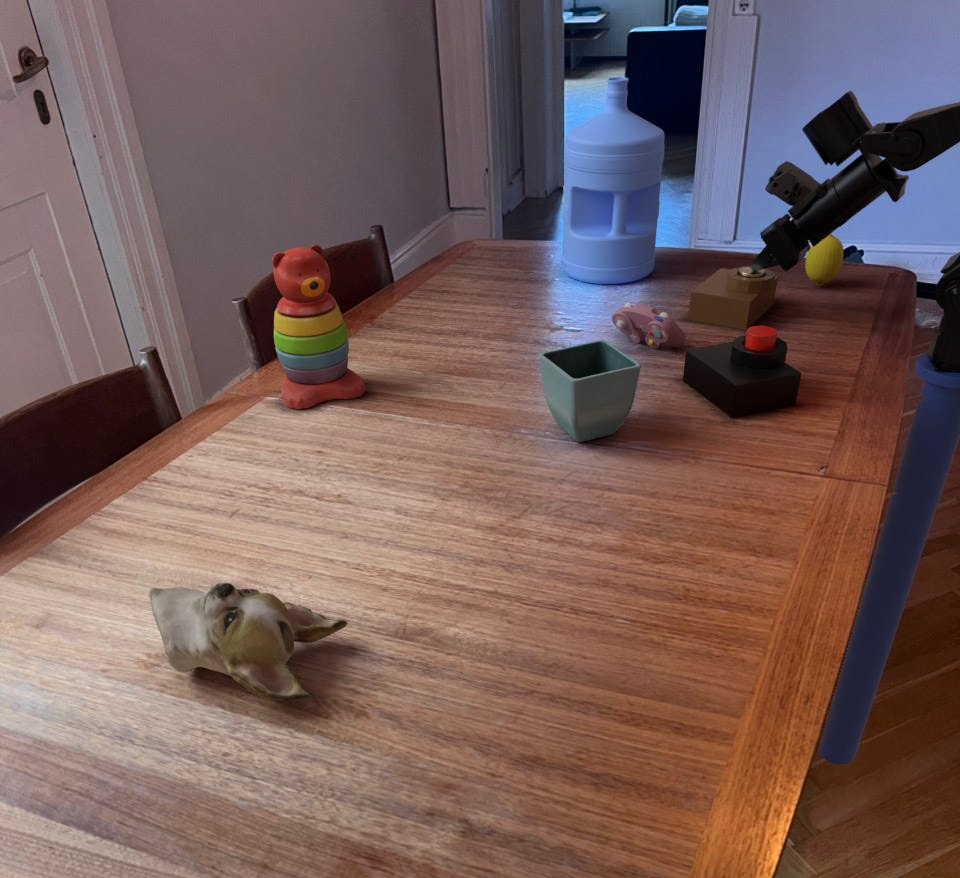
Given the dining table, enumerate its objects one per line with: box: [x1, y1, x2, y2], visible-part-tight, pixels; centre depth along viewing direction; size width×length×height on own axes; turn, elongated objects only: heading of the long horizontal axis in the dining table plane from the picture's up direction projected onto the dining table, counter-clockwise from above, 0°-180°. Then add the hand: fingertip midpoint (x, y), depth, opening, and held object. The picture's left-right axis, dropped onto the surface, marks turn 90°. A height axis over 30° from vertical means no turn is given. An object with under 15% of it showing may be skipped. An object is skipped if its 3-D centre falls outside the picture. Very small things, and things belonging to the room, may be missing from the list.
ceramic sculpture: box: [148, 582, 348, 702], centre depth 75 cm, size 11×9×15 cm
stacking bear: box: [271, 244, 367, 410], centre depth 115 cm, size 11×10×18 cm
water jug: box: [560, 76, 666, 285], centre depth 146 cm, size 16×16×28 cm
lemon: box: [804, 233, 845, 287], centre depth 143 cm, size 6×6×8 cm
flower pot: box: [538, 339, 642, 443], centre depth 106 cm, size 9×9×9 cm
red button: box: [745, 325, 778, 351], centre depth 113 cm, size 4×4×2 cm
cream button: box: [738, 266, 765, 278], centre depth 134 cm, size 4×4×2 cm
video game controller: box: [611, 302, 686, 350], centre depth 128 cm, size 10×5×7 cm, turn 47°
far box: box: [687, 266, 779, 331], centre depth 136 cm, size 10×12×6 cm
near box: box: [682, 334, 803, 419], centre depth 114 cm, size 10×12×6 cm
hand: (751, 268), depth 133 cm, fingers closed, pressing on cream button
